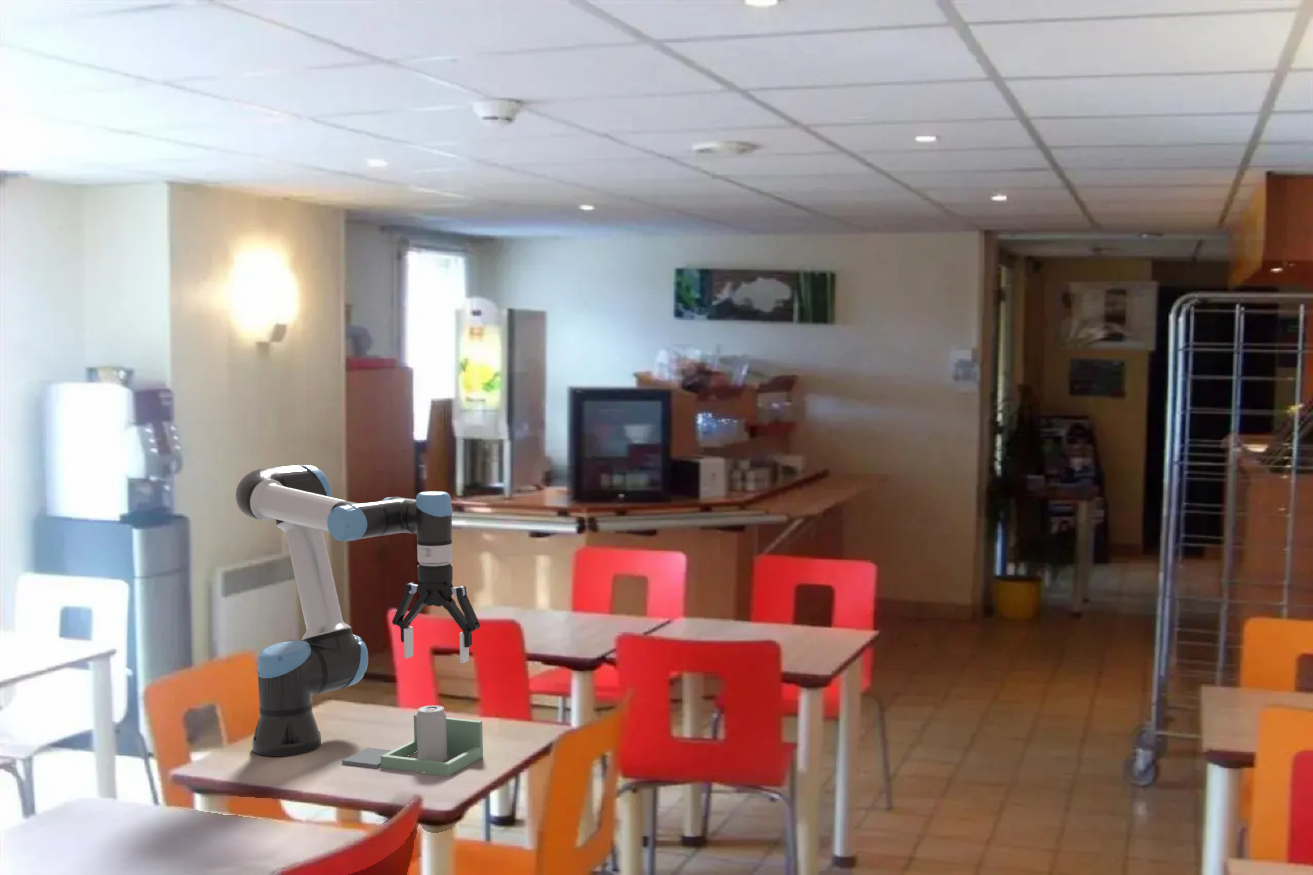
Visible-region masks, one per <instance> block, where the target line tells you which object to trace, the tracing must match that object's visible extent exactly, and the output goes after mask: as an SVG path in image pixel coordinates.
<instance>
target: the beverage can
mask: <svg viewBox="0 0 1313 875" xmlns="http://www.w3.org/2000/svg"><path fill="white" fill-rule="evenodd" d="M417 711H418V712H417V713H416V714H417V715H416V714H415V715H416V719H417V752H416V753H417V759H424V760H432V761H440V762H446V760H448V754H447V733H446V717H447V713H446V711H445V707H444V706H442V705H434V704H433V705H431V704H429V705H423V706H421V707H418V709H417Z"/></svg>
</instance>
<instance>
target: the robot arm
mask: <svg viewBox="0 0 1313 875" xmlns="http://www.w3.org/2000/svg"><path fill="white" fill-rule="evenodd" d="M332 494H333V493H332V486H331V484H330V482H329V479H328V478H327V475H326V474H325V473H324V472H323V471H322V470H321V469H319V467H317V466H314V465H310V464H304V465H303V464H295V465H287V466H285V465H284V466H277V467H269V468H266V467H265V468H259V469H255V470H252V471H250V472H249V473H246V475H244V476H243V478H241V480H240V482H239V483H238V484H237V487H236V490H235V500H236V504H237V506H238V508H239V510H240V511H241V512H242V513H243V514H244V515H246V516H247V517H249V518H252V519H255V520H259V521H262V522H268V521H269V522H270V521H273V520H275V522H276V527H277V528H278V529H280V530H281V531H283V532H284V534H285V538H286V543H287V546H288V550H289V551H288V552H289V556H290V560H291V564H292V568H293V569H292V570H293V574H294V579H295V583H296V588H297V592H298V596H299V602H300V605H301V606H300V607H301V611H302V615H303V621H304V623H305V628H306V631H305V632H304V634H303V636H302V637H301V640H297V639H296V640H289V641H287V642H286V641H282V642H278V643H274V644H272V645H269V646H267V647H266V648H264V649H263V650H261V652H260V653H259V655H258V657H257V669H256V674H257V684H258V686H257V687H258V706H259V707H258V709H259V714H258V716H259V717H258V720H257V723H256V727H255V730H254V734H253V738H252V752H253V753H254V754H257V755H259V756H265V757H266V756H267V757H287V756H289V757H291V756H296V755H302V754H305V753H309V752H312V751H314V750H317V749H318V748H320V747H321V745H322V733H321V731H320V730H319V727H318V724H317V721H316V717H315V715H314V713H313V696H317V695H321V694H326V693H328V692H333V691H336V690H342V689H346V688H348V687H350V686H353V685H355V684H357V683H359V682H361V680H362V679H363V678H364V676H365V673H366V672H367V669H368V665H369V652H368V648H367V645H366V643H365V641H363V639H362V638H361V637H360V636H358V635H355V634H353V630H352V626H350V625H349V624H347V623H346V622H345V621H344V620H343V616H342V610H341V605H340V602H339V596H338V592H337V589H336V588H337V587H336V584H335V578H334V574H333V569H332V565H331V561H330V557H329V552H328V547H327V543H326V539H325V533H329V534H330V535H331V536H332V537H333V539H334V540H337V541H339V542H353V541H354V542H355V541H358V540H362V539H368V538H374V537H381V536H388V535H389V536H390V535H393V534H394V535H395V534H400V533H401V534H403V533H406V534H415V535H416V536H417V537H416V545H417V546H416V548H417V549H416V550H417V551H416V553H417V555H416V556H417V562H418V563H419V564H418V565H417V581H418V583H417V584H416V583H415V582H409V583H406V584H405V585H404V591H403V593H404V594H403V596H402V598H401V601H400V603H399V605H398V606H397V609H396V611H395V613H394V616H393V618H392V620H391V623H392V625H394V626H398V627H399V628H400V641H401V643H403V653H404V654H403V655H404V657H403V658H404V659H410V658H412V657H414V626H411V624H412V622H413V621H414V620H415V619H416V617H417V616H418V615H419V614H420V613H421V611H422V610H423V609H424V608H425V606H427V607H432V606H435V607H443V608H444V609H445V610H447V612H448V613H449V615H450V616H451V617H452V619H453V620H454V621H455V623H456V624H457V625H458V626H459V628H460V629H461V632H459V663H460V664H464V663H466V662H468V661H470V647H472V645H473V631H476V630H478V629H480V628H481V623H480V621H479V619H478V617H477V615H476V612H475V611H474V608H473V605H472V604H471V602H470V599H469V597H468V594H467V587H466V585H461V586H454V585H453V580H454V578H453V575H454V573H453V570H454V569H453V564H452V561H453V522H452V520H453V519H452V518H453V508H452V497H451V495H450V494H449V493H448V492H446V491H437V490H435V491H434V490H433V491H432V490H431V491H421V492H419V493H417V494H416V497H415V498H416V499H414V498H406V497H401V496H391V497H389V496H388V497H385V498H383V499H382V500H378V501H371V502H362V503H361V502H359V503H358V502H354V501H347V500H345V499H340V498H336V497H332ZM324 532H325V533H324ZM416 593H418V595H419V598H418V599H417V600H416V602H415V604H414V605H413V607H412V608H411V609H410V610H409V612H408V613H407V611H408V609H409V606H410V605H411V602H412V600H413V598H414V596H415V594H416ZM453 595H454V596H455V597H456V599H457V600H456V601H457V602H458V604H459V606H460V608H459V606H458V605H457V603H456V601H455V599H454V598H453V597H452V596H453Z"/></svg>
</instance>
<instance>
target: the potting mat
mask: <svg viewBox="0 0 1313 875" xmlns="http://www.w3.org/2000/svg"><path fill="white" fill-rule="evenodd" d="M392 750H393V749H385V748H384V749H383V748H375V747H367V748H364V749H363V750H361V751H359V752H357V753H355V754H352V755H350V756H348V757H346V758H343V759H342V760H341V763H342V764H341V765H348V766H355V767H364V768H371V769H372V768H373V769H378V768H381V756H382V755H384V754H386V753H388V752H390V751H392Z"/></svg>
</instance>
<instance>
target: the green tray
mask: <svg viewBox="0 0 1313 875" xmlns="http://www.w3.org/2000/svg"><path fill="white" fill-rule="evenodd" d="M416 715H417V713H416V714H414V715H413V736H414V737H413V738H414V739H412V740H411V741H409V742H406V743H404V744H402V745H400V746H399V747H396V748H394V749H391V750H392V751H390V752H388V753H386V754H384V755H382V756H381V766H380V768H383V769H390V770H398V769H399V770H398V771H405V770H407V772H412V771H415V772H414V773H420V772H425V773H424V774H428V773H430V774H429V775H437V776H445V777H449V776H452V775H453V774H455V773H456V772H458V771H460V770H462V769H464V768H466V767H467V766H469V765H471V764H472V763H474V762H476V761H478V760H480V759H481V758H484V746H483V744H484V740H483V736H484V735H483V721H482V720H474V719H468V718H467V719H466V718H457V717H447V716H446V733H447V755H450V756H455V757H453V758H451V759H450V760H448V761H444V762H440V761H432V760H424V759H418V758H415V757H409V756H408V755H410V756H412V755H414V754H415V753H414V752H416V751H417V719H416ZM413 753H414V754H413ZM416 753H417V752H416ZM411 754H412V755H411ZM407 756H408V757H407Z"/></svg>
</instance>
